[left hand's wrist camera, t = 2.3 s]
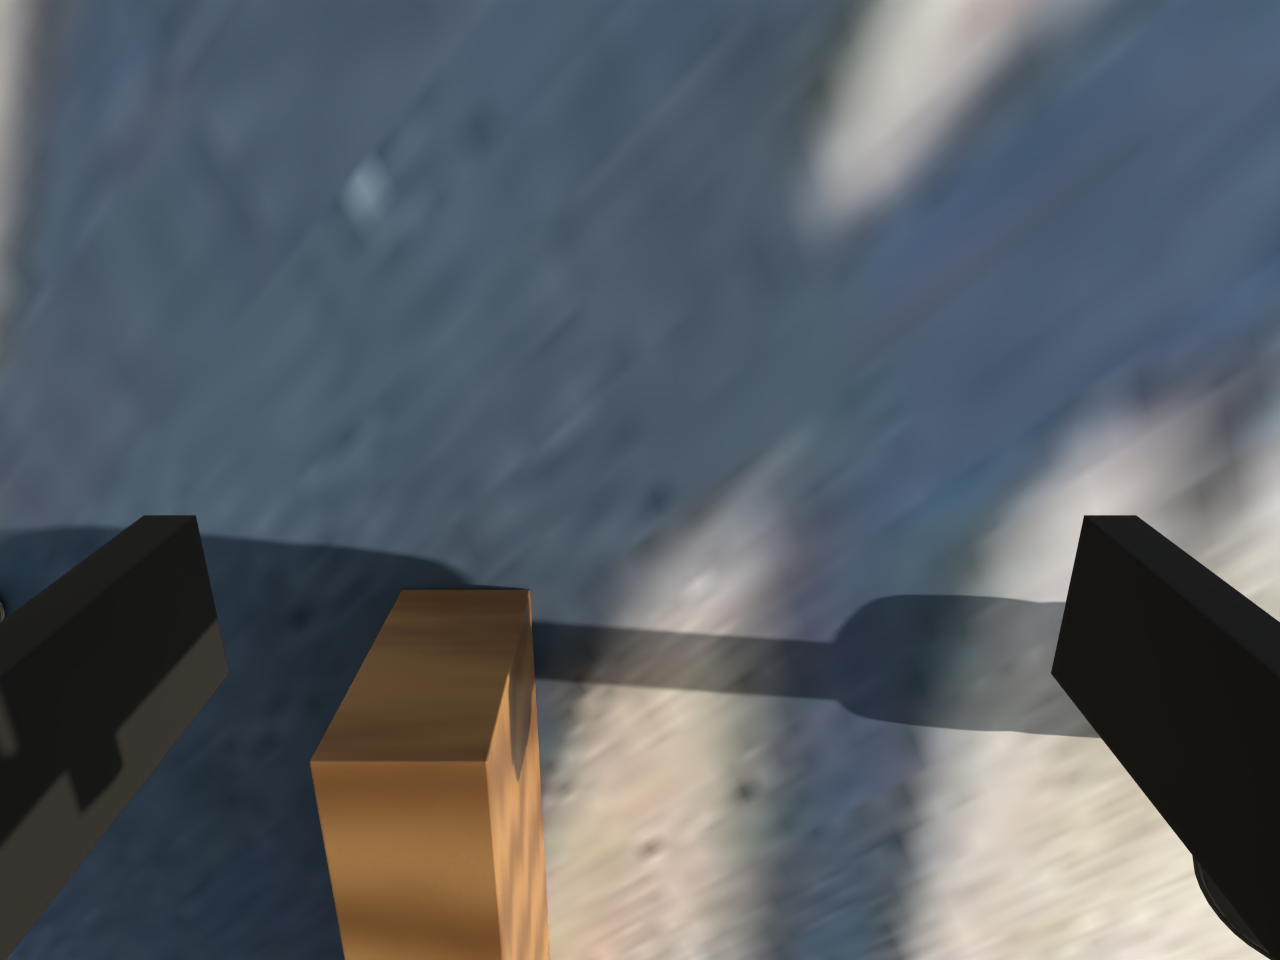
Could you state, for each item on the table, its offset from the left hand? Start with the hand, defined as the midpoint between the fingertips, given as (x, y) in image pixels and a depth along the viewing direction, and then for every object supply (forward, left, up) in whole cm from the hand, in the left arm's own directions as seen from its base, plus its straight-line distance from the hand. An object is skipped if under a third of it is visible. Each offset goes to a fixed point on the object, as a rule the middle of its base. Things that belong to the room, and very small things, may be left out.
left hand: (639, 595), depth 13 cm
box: (+26, +14, -26) cm, 39 cm away
